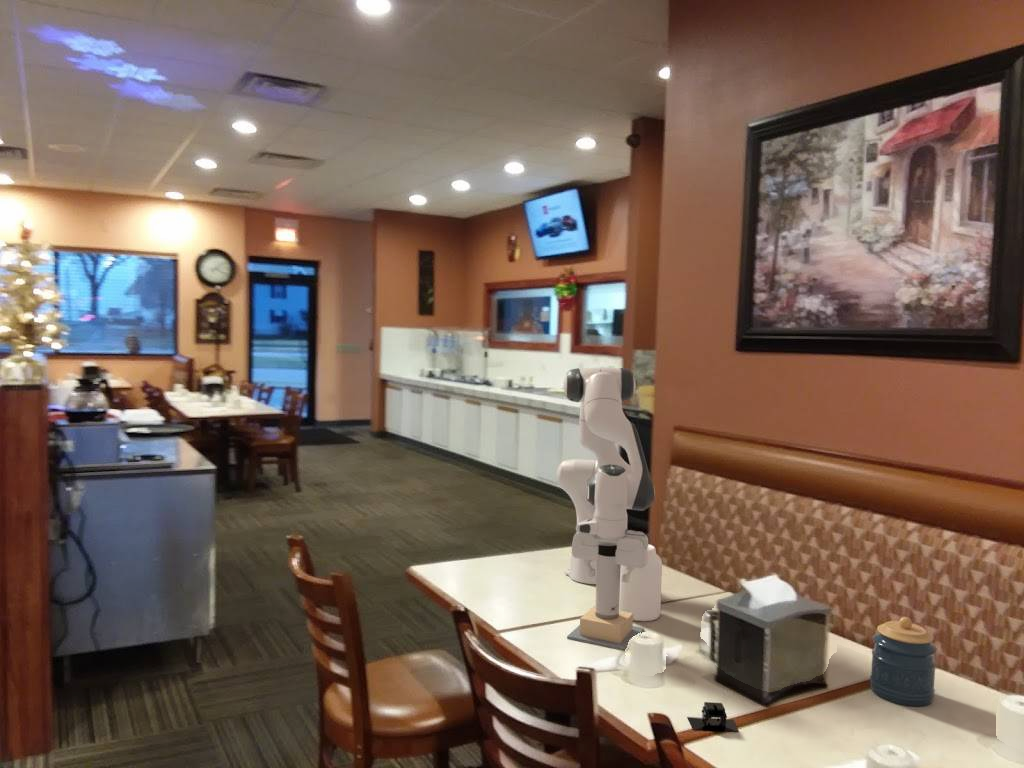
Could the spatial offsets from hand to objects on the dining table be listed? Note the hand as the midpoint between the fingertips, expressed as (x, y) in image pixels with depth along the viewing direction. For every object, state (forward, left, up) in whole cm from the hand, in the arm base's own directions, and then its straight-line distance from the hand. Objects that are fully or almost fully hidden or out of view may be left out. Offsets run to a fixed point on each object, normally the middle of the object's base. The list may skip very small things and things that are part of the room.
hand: (608, 578), depth 203 cm
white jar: (-19, +3, -15) cm, 24 cm away
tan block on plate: (0, 0, -15) cm, 15 cm away
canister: (0, +70, -15) cm, 72 cm away
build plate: (+36, +35, -16) cm, 52 cm away
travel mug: (0, 0, -10) cm, 10 cm away
